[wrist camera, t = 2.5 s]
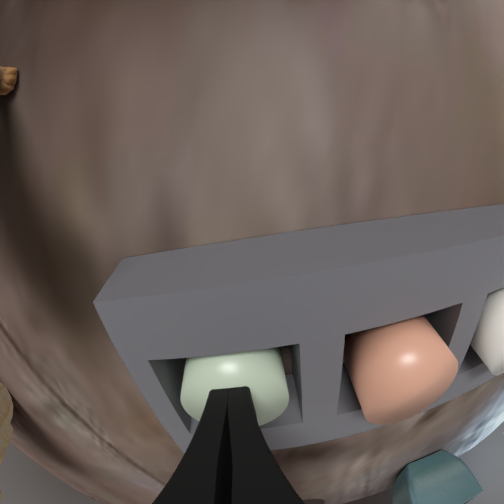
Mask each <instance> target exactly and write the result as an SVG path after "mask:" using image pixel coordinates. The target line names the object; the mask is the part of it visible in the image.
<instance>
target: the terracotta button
mask: <svg viewBox="0 0 504 504" xmlns="http://www.w3.org/2000/svg"><path fill="white" fill-rule="evenodd" d="M343 361H344V364H345V366H346V369H347V371H348V374H349V376H350V379H351V382H352V384H353V387H354V389H355V392H356V395H357V397H358V400H359V403H360V405H361V408H362V411H363V413H364V416H365V419H366V420H367V421H368V422H370V423H372V424H376V425H387V424H392V423H396V422H400V421H403V420H405V419H408V418H410V417H412V416H414V415H416V414H418V413H420V412H421V411H423V410H424V409H426V408H427V407H429V406H430V405H431V404H433V403H434V402H435V401H436V400H437V399H438V398H440V397H441V396H442V395H443V393H444V392H445V391H446V390H447V389H448V388H449V386H450V385H451V383H452V382H453V380H454V378H455V376H456V374H457V371H458V361H457V359H456V357H455V356H454V355H453V353H452V352H451V351H450V349H449V348H448V346H447V345H446V344H445V342H444V341H443V340H442V338H441V337H440V336H439V334H438V333H437V332H436V330H435V329H434V328H433V327H432V325H431V324H430V323H429V321H428V320H427V319H426V318H425V316H424V315H421V316H417V317H414V318H410V319H407V320H403V321H399V322H395V323H392V324H388V325H384V326H380V327H376V328H371V329H367V330H363V331H359V332H354V333H351V334H350V335H349V337H348V339H347V340H346V343H345V345H344V353H343Z"/></svg>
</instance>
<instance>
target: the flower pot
mask: <svg viewBox="0 0 504 504" xmlns="http://www.w3.org/2000/svg"><path fill="white" fill-rule="evenodd" d="M483 491H484V490H483V488H482V487H481V485H480V484H479V482H478V481H477V479H476V478H475V476H474V475H473V473H472V472H471V470H470V469H469V468H468V466H467V465H466V464H465V463H464V462H463V461H462V460H461V459H459V458H458V457H456V456H455V455H453V454H451V453H448V452H446V451H443V450H440V451H437V452H435V453H433V454H431V455H429V456H427V457H424V458H422V459H419V460H417V461H414V462H411V463H409V464H408V465H407V466H406V467H405V468H404V469H403V471H402V472H401V473H400V475H399V476H398V477H397V479H396V483H395V486H394V491H393V497H392V504H466V503H467V502H468V501H470V500H472V499H473V498H475V497H476V496H477V495H479V494H480V493H482V492H483Z"/></svg>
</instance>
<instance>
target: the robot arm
mask: <svg viewBox="0 0 504 504" xmlns="http://www.w3.org/2000/svg"><path fill="white" fill-rule="evenodd" d="M152 504H305V503H304V502H303V501H302V499H301V498H300V497H299V496H298V494H297V493H296V492H295V490H294V489H293V487H292V486H291V484H290V483H289V481H288V480H287V478H286V477H285V475H284V474H283V472H282V470H281V469H280V467H279V465H278V464H277V462H276V460H275V458H274V456H273V455H272V453H271V451H270V449H269V447H268V445H267V443H266V441H265V438H264V436H263V434H262V431H261V429H260V427H259V424H258V422H257V415H256V411H255V407H254V403H253V399H252V395H251V391H250V388H249V387H247V386H242V387H233V388H223V389H212V390H211V391H209V395H208V398H207V401H206V405H205V408H204V410H203V413H202V416H201V418H200V421H199V424H198V426H197V428H196V431H195V433H194V435H193V438H192V440H191V442H190V444H189V446H188V448H187V450H186V452H185V454H184V456H183V458H182V460H181V462H180V463H179V465H178V467H177V469H176V470H175V472H174V474H173V475H172V477H171V478H170V480H169V481H168V483H167V484H166V486H165V487H164V488H163V490H162V491H161V493H160V494H159V495H158V497H157V498H156V499H155V501H154V502H153V503H152Z"/></svg>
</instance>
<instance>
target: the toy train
mask: <svg viewBox="0 0 504 504" xmlns="http://www.w3.org/2000/svg"><path fill="white" fill-rule="evenodd" d="M12 417H13V402H12V399H11V396H10V394H9V392H8V390H7V388H6V387H5V386H4V385H3V384H2V383H1V382H0V465H1V462H2V460H3V457H4V455H5V452H6V449H7V447H8V445H9V442H10V440H11V438H12V435H13V427H12V426H11V424H10V422H11V419H12ZM1 499H2V495H1V491H0V500H1Z"/></svg>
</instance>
